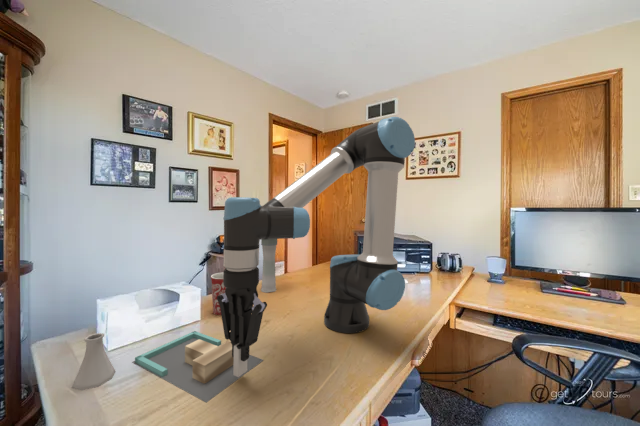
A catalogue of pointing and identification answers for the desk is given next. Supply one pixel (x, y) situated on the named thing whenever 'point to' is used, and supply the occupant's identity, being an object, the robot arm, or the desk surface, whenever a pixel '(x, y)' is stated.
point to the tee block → (208, 359)
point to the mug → (217, 291)
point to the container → (268, 265)
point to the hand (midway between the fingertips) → (240, 372)
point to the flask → (94, 365)
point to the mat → (188, 367)
